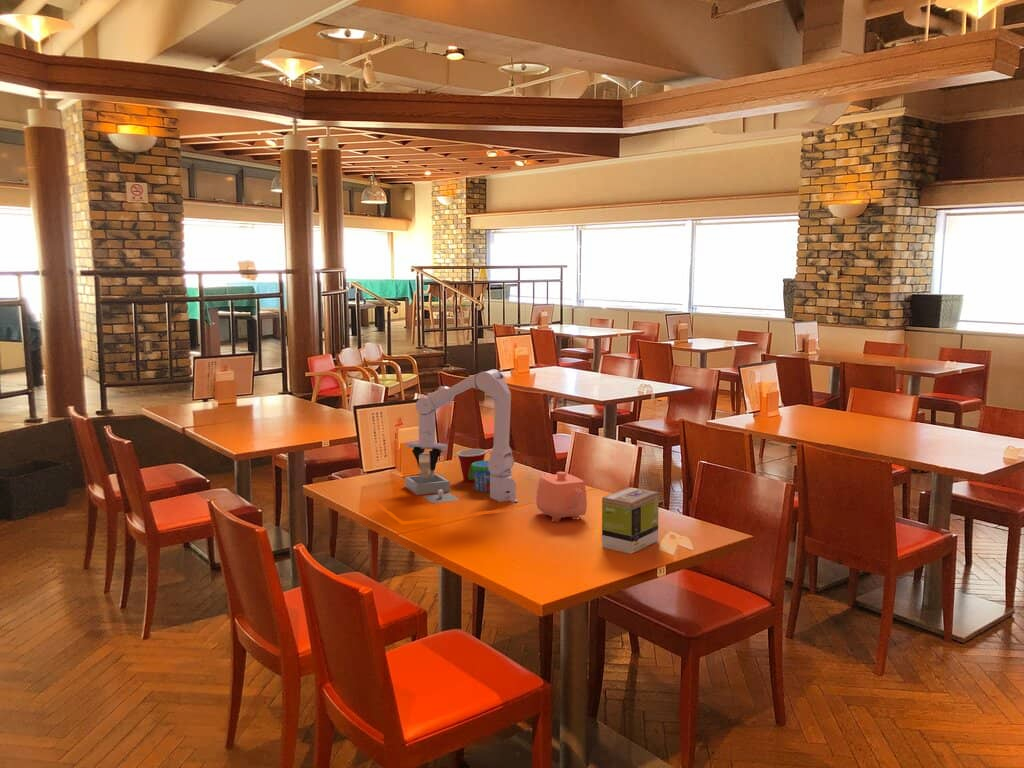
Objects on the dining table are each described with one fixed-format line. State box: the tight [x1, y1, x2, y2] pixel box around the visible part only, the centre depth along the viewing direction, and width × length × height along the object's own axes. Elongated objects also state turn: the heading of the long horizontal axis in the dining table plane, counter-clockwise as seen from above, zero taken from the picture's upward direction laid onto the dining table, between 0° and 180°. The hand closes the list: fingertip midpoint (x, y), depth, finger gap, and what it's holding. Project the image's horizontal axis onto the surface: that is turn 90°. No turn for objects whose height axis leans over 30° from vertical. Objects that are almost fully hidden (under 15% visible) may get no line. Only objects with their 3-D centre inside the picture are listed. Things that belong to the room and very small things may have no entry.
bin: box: [404, 473, 450, 496], centre depth 286 cm, size 12×12×4 cm
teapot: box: [535, 471, 588, 522], centre depth 257 cm, size 22×13×14 cm, turn 24°
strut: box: [418, 452, 435, 478], centre depth 285 cm, size 4×4×8 cm
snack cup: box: [468, 460, 490, 493], centre depth 286 cm, size 16×10×10 cm
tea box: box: [601, 486, 659, 555], centre depth 230 cm, size 15×10×15 cm, turn 141°
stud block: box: [421, 490, 461, 504], centre depth 275 cm, size 10×10×4 cm
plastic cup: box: [456, 448, 487, 484], centre depth 299 cm, size 11×11×12 cm
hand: (427, 469), depth 286 cm, fingers closed on strut, 4 cm apart
